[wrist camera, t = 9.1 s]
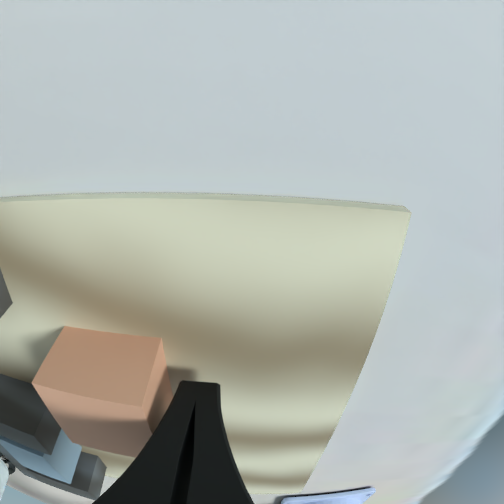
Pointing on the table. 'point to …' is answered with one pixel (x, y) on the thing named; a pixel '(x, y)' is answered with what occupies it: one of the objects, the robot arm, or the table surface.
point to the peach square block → (105, 388)
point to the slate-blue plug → (47, 457)
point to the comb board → (201, 311)
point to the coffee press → (4, 473)
